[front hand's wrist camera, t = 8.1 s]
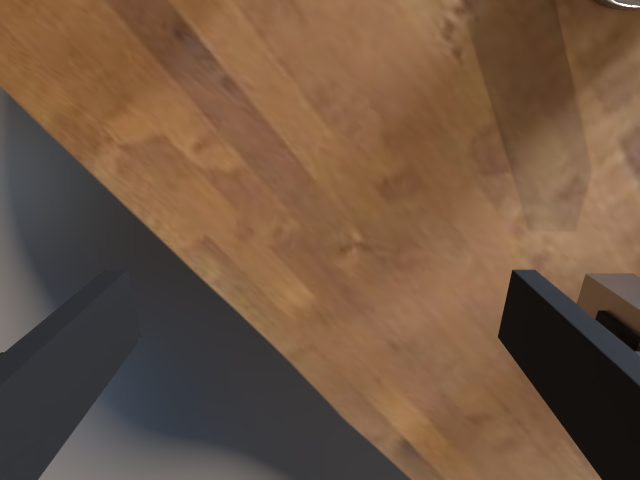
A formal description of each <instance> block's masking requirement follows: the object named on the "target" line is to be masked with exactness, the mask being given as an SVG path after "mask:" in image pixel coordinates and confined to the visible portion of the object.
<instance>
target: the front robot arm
mask: <svg viewBox="0 0 640 480" xmlns="http://www.w3.org/2000/svg"><path fill="white" fill-rule="evenodd" d="M595 1H597V2H598V3H600V4H602V5H604V6H607V7H610V8H613V9H619V10H634V9H640V0H595ZM141 338H142V334H141V330H140V325H139V320H138V316H137V311H136V306H135V302H134V297H133V293H132V288H131V283H130V279H129V274H128V270H104V271H103V272H102V273H101V274H99V275H98V276H97V277H96V278H95V279H93V280H92V281H91V282H90V283H89V284H87V285H86V286H85V287H84V288H82V289H81V290H80V291H79V292H78V293H76V294H75V295H74V296H73V297H71V298H70V299H69V300H68V301H67V302H65V303H64V304H63V305H62V306H60V307H59V308H58V309H57V310H56V311H54V312H53V313H52V314H51V315H50V316H48V317H47V318H46V319H45V320H43V321H42V322H41V323H40V324H39V325H37V326H36V327H35V328H34V329H32V330H31V331H30V332H29V333H28V334H26V335H25V336H24V337H23V338H22V339H20V340H19V341H18V342H17V343H15V344H14V345H13V346H12V347H11V348H9V349H8V350H7V351H6V352H2V353H0V480H38V479H39V478H40V476H41V475H42V473H43V472H44V471H45V469H46V468H47V467H48V465H49V464H50V462H51V461H52V460H53V458H54V457H55V456H56V454H57V453H58V451H59V450H60V449H61V447H62V446H63V445H64V443H65V442H66V441H67V439H68V438H69V436H70V435H71V434H72V432H73V431H74V430H75V428H76V427H77V425H78V424H79V423H80V421H81V420H82V419H83V417H84V416H85V415H86V413H87V412H88V410H89V409H90V408H91V406H92V405H93V404H94V402H95V401H96V399H97V398H98V397H99V395H100V394H101V393H102V391H103V390H104V388H105V387H106V386H107V384H108V383H109V382H110V380H111V379H112V378H113V376H114V375H115V373H116V372H117V371H118V369H119V368H120V367H121V365H122V364H123V362H124V361H125V360H126V358H127V357H128V356H129V354H130V353H131V352H132V350H133V349H134V347H135V346H136V345H137V343H138V342H139V341H140V339H141ZM498 338H499V339H500V341H501V342H502V343H503V345H504V346H505V347H506V349H507V350H508V352H509V353H510V354H511V356H512V357H513V358H514V360H515V361H516V363H517V364H518V365H519V367H520V368H521V369H522V371H523V372H524V373H525V375H526V376H527V378H528V379H529V380H530V382H531V383H532V384H533V386H534V387H535V389H536V390H537V391H538V393H539V394H540V395H541V397H542V398H543V399H544V401H545V402H546V404H547V405H548V406H549V408H550V409H551V410H552V412H553V413H554V415H555V416H556V417H557V419H558V420H559V421H560V423H561V424H562V425H563V427H564V428H565V430H566V431H567V432H568V434H569V435H570V436H571V438H572V439H573V441H574V442H575V443H576V445H577V446H578V447H579V449H580V450H581V451H582V453H583V454H584V456H585V457H586V458H587V460H588V461H589V462H590V464H591V465H592V467H593V468H594V469H595V471H596V472H597V473H598V475H599V476H600V478H601V479H602V480H640V351H633V350H632V349H631V348H629V347H628V346H627V345H626V344H625V343H623V342H622V341H621V340H620V339H618V338H617V337H616V336H615V335H614V334H612V333H611V332H610V331H609V330H608V329H606V328H605V327H604V326H603V325H601V324H600V323H599V322H598V321H597V320H595V319H594V318H593V317H592V316H590V315H589V314H588V313H587V312H586V311H584V310H583V309H582V308H581V307H580V306H578V305H577V304H576V303H575V302H573V301H572V300H571V299H570V298H569V297H567V296H566V295H565V294H564V293H562V292H561V291H560V290H559V289H558V288H556V287H555V286H554V285H553V284H551V283H550V282H549V281H548V280H547V279H545V278H544V277H543V276H542V275H541V274H539V273H538V272H537V271H536V270H512V274H511V279H510V283H509V288H508V293H507V297H506V302H505V306H504V311H503V316H502V320H501V325H500V329H499V334H498Z"/></svg>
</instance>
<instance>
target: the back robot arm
mask: <svg viewBox="0 0 640 480" xmlns="http://www.w3.org/2000/svg"><path fill="white" fill-rule="evenodd" d="M595 320H597V321H598V322H599V323H600V324H601V325H603V326H604V327H605V328H606V329H608V330H609V331H610V332H611V333H612V334H614V335H615V336H616V337H617V338H618V339H620V340H621V341H622V342H623V343H625V344H626V345H627V346H628V347H629V348H631V349H632V350H633V351H640V337H639V336H638V335H636V334H635V333H634V332H633V331H631V330H630V329H629V328H627V327H626V326H625V325H623V324H622V323H621V322H619V321H618V320H617V319H615V318H614V317H613V316H611V315H610V314H609V313H607V312H606V311H605V310H598V312H597V315H596V318H595Z"/></svg>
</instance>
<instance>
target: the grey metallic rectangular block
mask: <svg viewBox="0 0 640 480" xmlns="http://www.w3.org/2000/svg"><path fill="white" fill-rule="evenodd" d="M577 305H578V306H580V307H581V308H582V309H583V310H584V311H586V312H587V313H588V314H589V315H590V316H592V317H593V318H594V319H595V318H596V315H597V312H598V310H605V311H606V312H607V313H609V314H610V315H611V316H613V317H614V318H615V319H617V320H618V321H619V322H621V323H622V324H623V325H625V326H626V327H627V328H629V329H630V330H631V331H633V332H634V333H635V334H636V335H638V336H639V337H640V277H638V276H636V275H635V274H586V275H585V278H584V282H583V285H582V288H581V292H580V295H579V298H578V302H577Z"/></svg>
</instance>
